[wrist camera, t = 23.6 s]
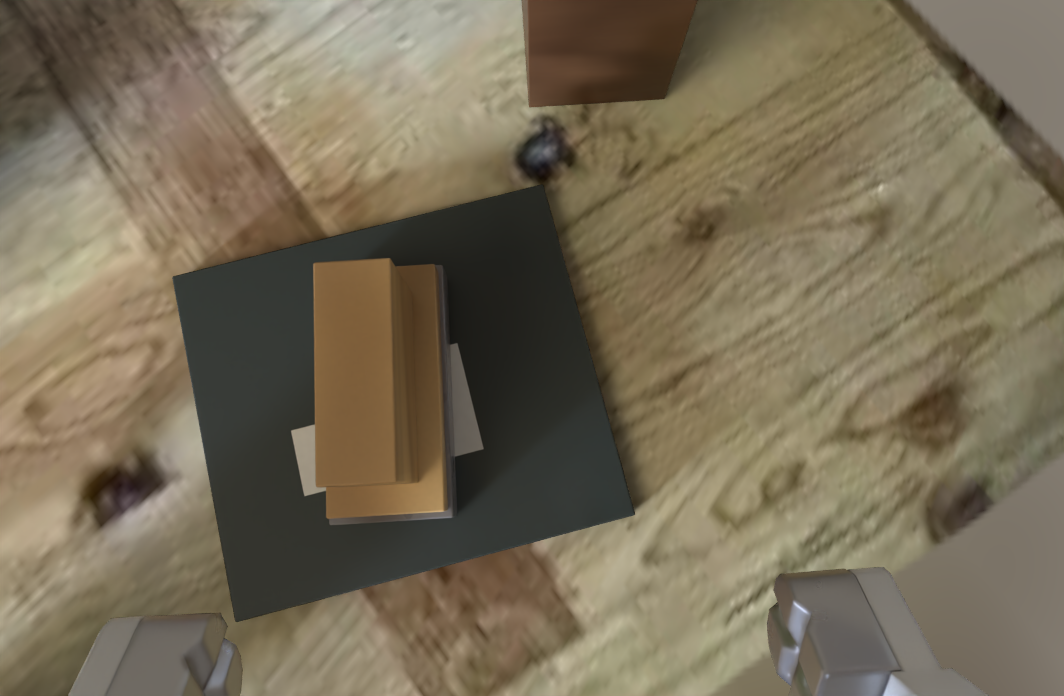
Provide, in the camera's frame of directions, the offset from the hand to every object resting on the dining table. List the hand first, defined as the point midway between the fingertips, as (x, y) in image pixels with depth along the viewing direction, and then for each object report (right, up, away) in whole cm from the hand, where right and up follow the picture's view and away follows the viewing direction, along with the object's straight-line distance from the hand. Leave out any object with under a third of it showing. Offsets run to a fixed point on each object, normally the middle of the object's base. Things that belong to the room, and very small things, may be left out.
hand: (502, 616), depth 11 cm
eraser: (-6, +2, +23) cm, 24 cm away
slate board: (-6, +2, +24) cm, 25 cm away
